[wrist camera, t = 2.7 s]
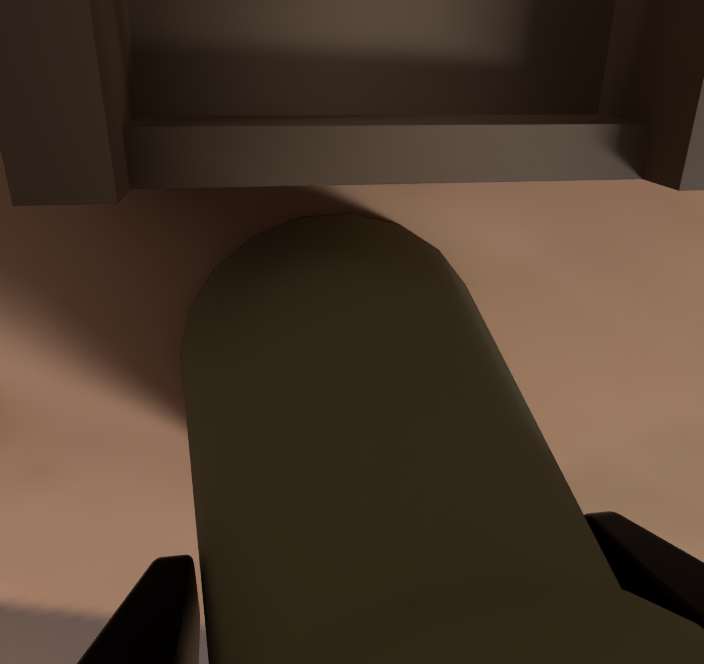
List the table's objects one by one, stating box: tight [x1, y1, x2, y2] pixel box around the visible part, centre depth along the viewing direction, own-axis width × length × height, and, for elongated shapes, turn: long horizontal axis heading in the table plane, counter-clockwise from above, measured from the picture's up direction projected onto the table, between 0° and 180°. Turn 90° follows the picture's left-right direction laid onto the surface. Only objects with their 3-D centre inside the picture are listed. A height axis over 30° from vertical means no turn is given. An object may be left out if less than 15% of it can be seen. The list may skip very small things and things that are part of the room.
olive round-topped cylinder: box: [181, 213, 704, 664], centre depth 8 cm, size 6×6×11 cm
